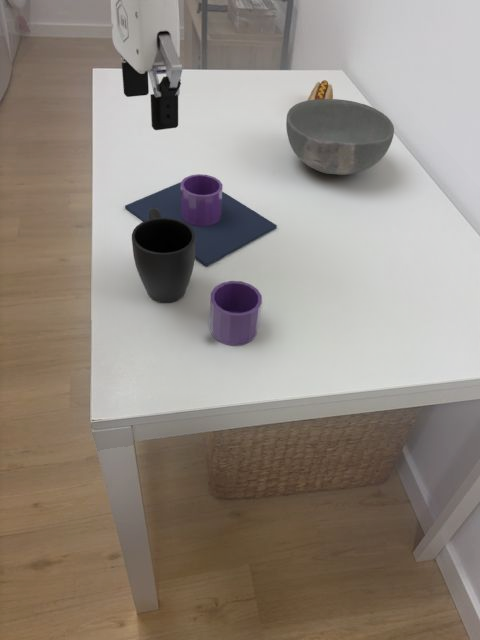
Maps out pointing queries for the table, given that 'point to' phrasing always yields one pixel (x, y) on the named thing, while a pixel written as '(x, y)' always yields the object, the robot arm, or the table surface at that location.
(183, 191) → the ramekin
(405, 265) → the table surface
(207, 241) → the placemat
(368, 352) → the table surface
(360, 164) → the bowl
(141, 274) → the mug
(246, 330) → the ramekin
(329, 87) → the food
